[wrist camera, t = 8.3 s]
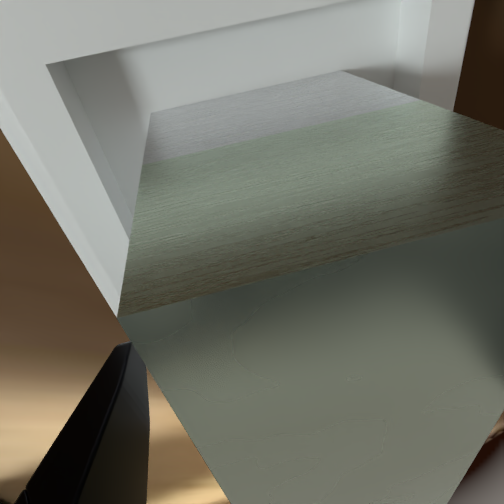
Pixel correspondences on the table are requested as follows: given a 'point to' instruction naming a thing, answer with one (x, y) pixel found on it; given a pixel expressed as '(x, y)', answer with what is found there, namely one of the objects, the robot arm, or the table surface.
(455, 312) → the block
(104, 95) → the white rectangular tray
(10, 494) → the table surface
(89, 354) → the table surface
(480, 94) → the table surface
